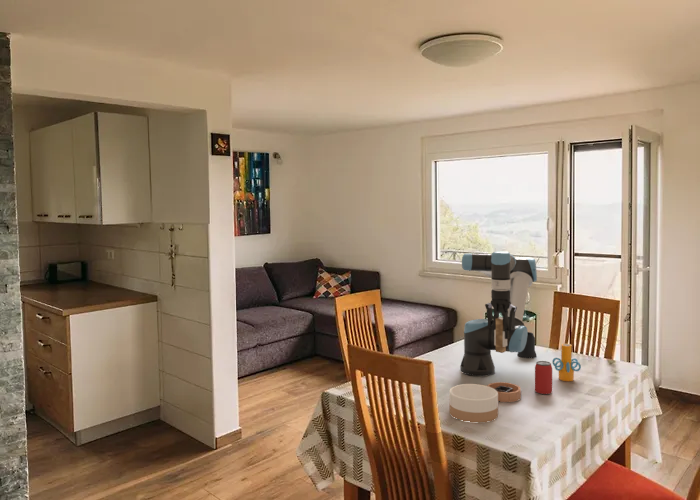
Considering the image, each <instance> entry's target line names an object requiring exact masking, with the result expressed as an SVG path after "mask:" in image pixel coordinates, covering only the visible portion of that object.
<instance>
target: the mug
mask: <svg viewBox="0 0 700 500" xmlns="http://www.w3.org/2000/svg"><path fill="white" fill-rule="evenodd" d="M535 349H536V336H535V335H534V333H533V332H530V331H528V336H527V342H526V346H525V348H524V350H523V351H522V352H517V354H516V355H517V357H518V358H523V359H535V358H537V357H538V356H537V353H536V350H535Z"/></svg>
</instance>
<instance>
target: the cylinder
mask: <svg viewBox="0 0 700 500" xmlns="http://www.w3.org/2000/svg"><path fill="white" fill-rule="evenodd" d="M572 345H573V344H571V343H562V344H561V351H560V352H561V357H560V358H561V359H560V358H559V357H554V358H553V359H552V362H551V364H552V365H553V366H554V369H555V370H556V371H558V380H560V381H561V382H562V381H563V382H573V381H574V380H575V379H574V377H575V374H574V373H575V372H579V371H581V368H582V367H581V364H580V362H579V361H578V359H577V358H572V356H573V355H572V352H573V351H572V349H573V348H572V347H573V346H572ZM556 360H557V361H556ZM555 361H556V362H555ZM558 364H559V365H558ZM574 364H575V365H574ZM573 365H574V366H573ZM577 367H578V368H577Z"/></svg>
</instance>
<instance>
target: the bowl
mask: <svg viewBox="0 0 700 500" xmlns="http://www.w3.org/2000/svg"><path fill="white" fill-rule="evenodd" d="M448 392H449V393H448V395H449V396H448V397H449V399H448V400H449V403H448V404H449V415H450V414H451V415H452V416H453V417H455V418H457V419H460V420H463V421H462V422H464V421H470V422H485V423H488V422H487V421H490V422H493V421H495V420H496V419H497V418H498V415H499V401H498V392H497V391H496V390H495V389H493V388H491V387H488V386H487V385H483V384H479V383H477V384H476V383H461V384H457V385H454V386H452V387H450V389H449V391H448ZM451 415H450V416H451ZM452 416H451V417H452ZM453 417H452V418H453ZM455 418H454V419H455ZM457 419H456V420H457ZM494 419H495V420H494ZM460 420H459V421H460ZM492 420H493V421H492Z"/></svg>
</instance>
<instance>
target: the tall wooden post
mask: <svg viewBox="0 0 700 500" xmlns="http://www.w3.org/2000/svg"><path fill="white" fill-rule="evenodd" d="M503 331H504V324H503V318H502V317H500V316H499V317H498V318H496V350H495V352H496V353H501V354H503V353H506V352H507V351H506V346H505V347H503Z"/></svg>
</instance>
